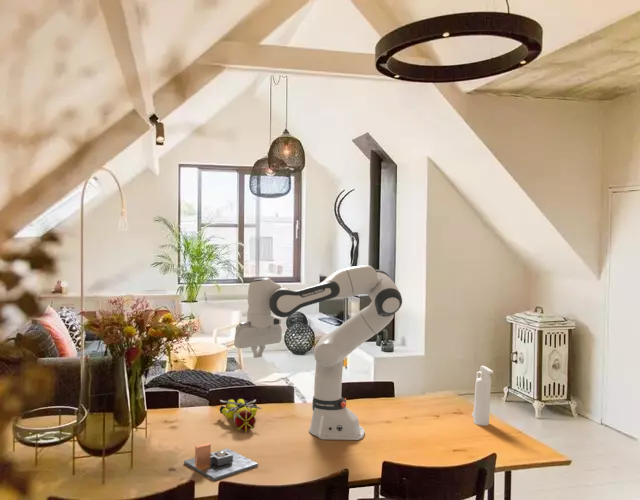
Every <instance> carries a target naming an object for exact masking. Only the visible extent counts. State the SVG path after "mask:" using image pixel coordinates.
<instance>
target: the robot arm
mask: <svg viewBox="0 0 640 500" xmlns="http://www.w3.org/2000/svg"><path fill="white" fill-rule="evenodd" d="M361 294H368V297H369V298H370V300H371V302H370V303H369V305H367V306H366V307H364V308H363V309H361V310H360V311H358V312H357V313H355V314H354V315H353V316H351V317H350V318H348V319H346V321H344V322H343V323H342V324H340V325H339V326H338V327H336V328H335V329H334V330H333V331H331V332H330V333H326V334H324V335H322V336H320V338H319V340H318V341H317V343H316V345H315V347H314V349H313V357H314V360H315V362H316V363H315V371H314V384H313V385H314V386H313V387H314V388H313V390H314V391H313V397H312V406H311V407H312V415H311V416H312V417H311V422H310V427H309V429H308V431H309V433H310V434H312V435H314V436H315V437H318V438H319V439H320V440H332V441H333V440H335V441H341V440H342V441H343V440H344V441H360V440H362V439H363V438H364V436H365V433H366V432H365V429H364V427H362V426H361V425H360V421H359V418H358V416H357V415H356V414H355V413H354V412H352V410H351V409H349V408H348V407H347V398H346V397H345V398H344V397H342V385H343V370H344V369H343V367H344V358H346V357H348V355H350V354H351V353H352V352H353V351H355V350H356V349H358V348H359V346H361V345H363V344H364V343H365V342H366V341H368V340H369V339H371V338H372V337H373V336H375V335H377V334H379V332H381V331H382V330H383V329H384V328H386V327H387V326H388V325H389V324H390V323H391V322H392V320H393V319H394V316H395V314H396V313H397V312H398V311H399V310H400V309H401V307H402V306H403V298H402V294H401V292H400V290H399V288H398V287H397V285H396V282H394V281H393V280H392V278H391V277H390V275H389V274H388V273H387V272H385V271H383V270H381V269H375V268H374V267H373V266H372V265H368V264H367V265H366V264H364V265H361V264H360V265H356V266H350V267H345V268H342V269H338V270H336V271H334V272H333V271H332V273H329V274H327V276H326V278H325V279H324V280H322V281H321V282H320V283H318V284H316V285H312V286H309V287H306V288H305V287H304V288H302V289H297V290H293V289H291V288H290V287H287V286H284V285H281V284H279V283H276V282H275V281H274V280H272V279H271V278H270V277H258V278H254V279H253V280H251V282H249V285H248V290H247V304H248V308H247V311H246V313H247V316H246V317H247V318H246V319H247V320H246V321H245V322H239V323H238V324H237V325H236V327H235V334H234V345H233V346H234V347H235V348H237V349H248V348H250V350H251V351H252V353H253V358H255V359H259V358H262V357H263V353H264V351H265V349H266V346H267V345H273V344H280V342H281V341H282V337H283V331H282V326H281V324H282V319H281V318H288V317H291V316H293V314H295V313H296V312H297V311H298V310H300V309H302V308H304V307H307V306H310V305H314V304H317V303H321V302H325V301H332V300H340V299H346V298H350V297H351V298H352V297H354V296H358V295H361ZM272 314H273V315H275V316H276V317H275V316H272ZM277 317H278V318H277ZM279 317H280V318H279ZM258 347H259V349H258ZM257 349H258V350H257Z"/></svg>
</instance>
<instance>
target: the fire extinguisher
mask: <svg viewBox="0 0 640 500" xmlns="http://www.w3.org/2000/svg"><path fill="white" fill-rule="evenodd" d="M479 374H480V377H479ZM490 374H491V375H492V374H494V370H492V369H491V368H489V367H487V366H486V365H480V367H479V371H477V372H476V375H475V376H476V377H475V378H476V379H475V384H474V385H475V386H474V404H473V405H474V406H473V411H472V413H471V418H473V423H474V424H475V425H478V426H485V427H486V426H489V424H490V409H491V406H490V405H491V390H492V389H491V384H492V378H491V375H490Z"/></svg>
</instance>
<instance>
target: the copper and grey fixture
mask: <svg viewBox="0 0 640 500" xmlns="http://www.w3.org/2000/svg"><path fill="white" fill-rule="evenodd" d="M211 445H212V444H210V443H205V444H200V445H196V446H195V447H194V448H195V449H194V458H195V467H196V468H200V467H204V466H208V465H211V464H215V465H217V466H220V465H224V464H228V463H232V462H233V455H232V454H230V453H229V452H227V451H226V450H223V449H221V450H222V451H226V456H222V457H218V456H217V452H216V451H213V452H211V451H212V450H211V449H212V447H211Z"/></svg>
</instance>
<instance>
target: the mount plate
mask: <svg viewBox="0 0 640 500" xmlns="http://www.w3.org/2000/svg"><path fill="white" fill-rule="evenodd" d="M222 450H226V451H227V452H229V453H230V454H232V455H233V462H232V463H228V464H224V465H220V466H217V465H215V464H211V465H208V466H204V467H200V468H196V467H195V457H194V458H189V459H186V460H184V461H183V464H184V465H186V466H188V467H189V468H191V469H192V470H195V471H196V472H198V473H199V474H201V475H203V477H206V478H207V479H209V480H211V481H213V482H214V481H218V480H221V479H223V478H227V477H230V476H233V475H236V474H239V473H242V472H243V473H244V472H245V471H248V470H251V469H254V468H258V467H259V464H258V462H256V461H253V460H251V459H250V458H248V457H246V456H244V455H243V454H239V453H238V452H237V451H234V450H232V449H230V448H224V449H221V450H217V451H215V452H217V456H218V457H222V456H226V451H222Z"/></svg>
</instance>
